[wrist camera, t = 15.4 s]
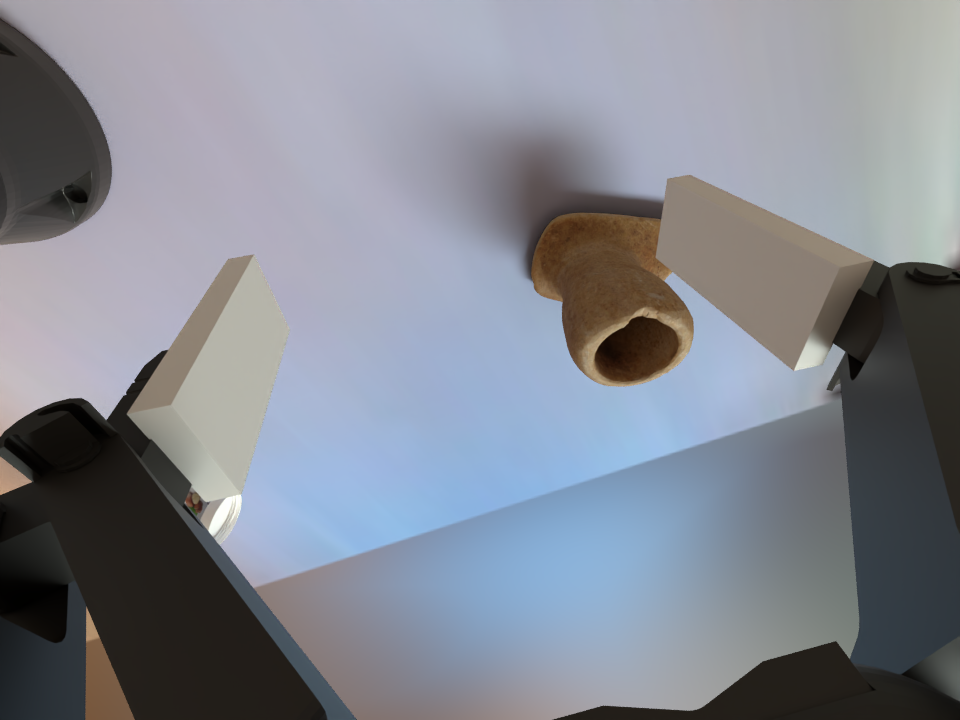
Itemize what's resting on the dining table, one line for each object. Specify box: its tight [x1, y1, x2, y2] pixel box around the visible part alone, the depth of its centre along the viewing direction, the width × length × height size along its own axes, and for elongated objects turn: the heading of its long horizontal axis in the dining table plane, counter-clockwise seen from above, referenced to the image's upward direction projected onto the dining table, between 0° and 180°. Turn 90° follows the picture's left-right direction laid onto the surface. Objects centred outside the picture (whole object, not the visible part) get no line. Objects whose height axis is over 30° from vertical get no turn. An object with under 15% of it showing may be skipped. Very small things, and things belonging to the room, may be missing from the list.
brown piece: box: [531, 213, 694, 386], centre depth 40 cm, size 15×12×15 cm
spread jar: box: [185, 487, 242, 545], centre depth 51 cm, size 12×11×12 cm
